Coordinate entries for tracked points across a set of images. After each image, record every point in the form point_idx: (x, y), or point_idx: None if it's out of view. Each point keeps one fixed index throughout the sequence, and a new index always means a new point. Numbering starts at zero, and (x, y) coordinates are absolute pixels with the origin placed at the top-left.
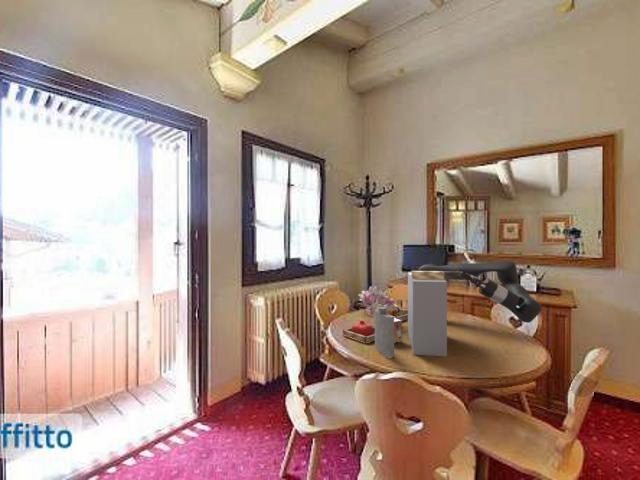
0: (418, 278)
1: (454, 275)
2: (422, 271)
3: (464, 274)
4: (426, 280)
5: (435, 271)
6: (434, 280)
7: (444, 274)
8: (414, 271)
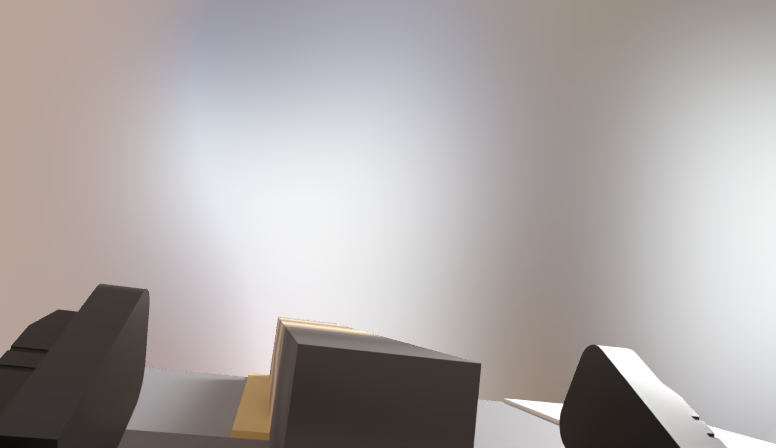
0: (262, 382)
1: (280, 401)
2: (307, 322)
3: (35, 343)
4: (154, 386)
5: (334, 328)
6: (148, 401)
7: (280, 363)
8: (295, 319)
